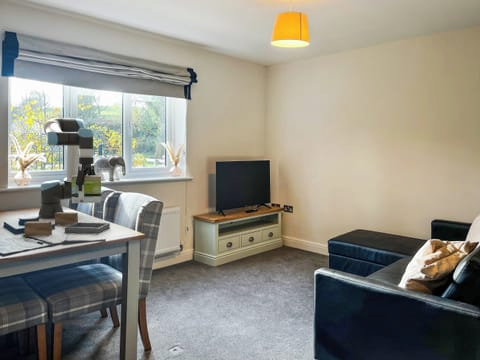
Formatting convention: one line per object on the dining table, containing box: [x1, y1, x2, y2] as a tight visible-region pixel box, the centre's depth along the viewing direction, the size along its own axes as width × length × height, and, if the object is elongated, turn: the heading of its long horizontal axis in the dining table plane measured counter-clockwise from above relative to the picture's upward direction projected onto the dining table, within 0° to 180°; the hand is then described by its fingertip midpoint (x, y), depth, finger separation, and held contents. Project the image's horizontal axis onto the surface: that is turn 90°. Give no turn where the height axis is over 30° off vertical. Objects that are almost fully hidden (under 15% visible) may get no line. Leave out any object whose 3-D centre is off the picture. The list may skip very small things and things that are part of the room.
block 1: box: [23, 220, 53, 237], centre depth 203 cm, size 4×12×7 cm, turn 99°
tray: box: [64, 221, 111, 235], centre depth 215 cm, size 14×19×3 cm
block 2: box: [54, 211, 79, 226], centre depth 231 cm, size 4×12×7 cm, turn 85°
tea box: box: [71, 174, 102, 204], centre depth 213 cm, size 15×10×15 cm
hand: (87, 195), depth 214 cm, fingers closed on tea box, 12 cm apart
